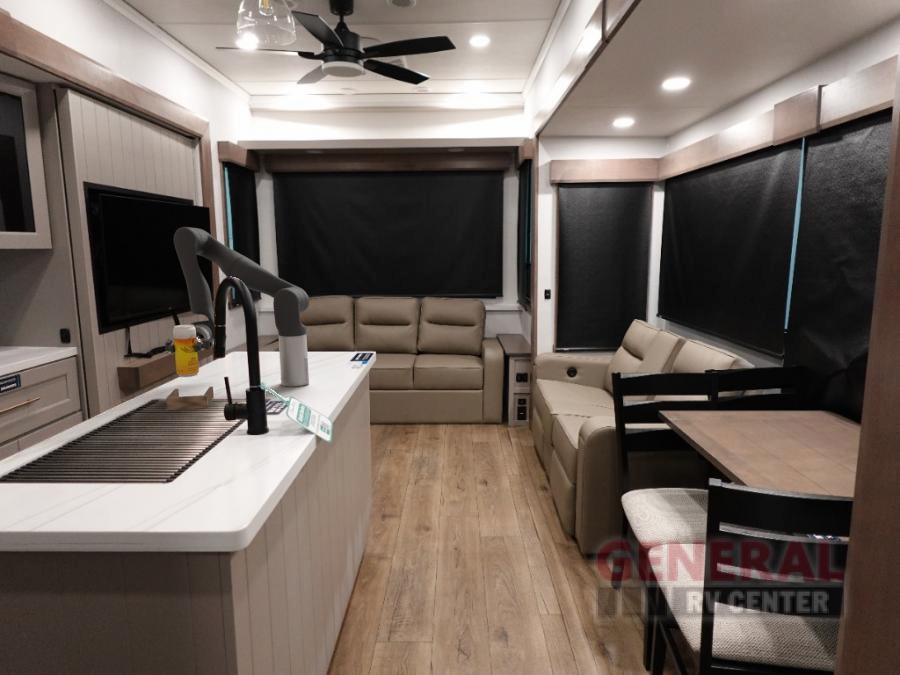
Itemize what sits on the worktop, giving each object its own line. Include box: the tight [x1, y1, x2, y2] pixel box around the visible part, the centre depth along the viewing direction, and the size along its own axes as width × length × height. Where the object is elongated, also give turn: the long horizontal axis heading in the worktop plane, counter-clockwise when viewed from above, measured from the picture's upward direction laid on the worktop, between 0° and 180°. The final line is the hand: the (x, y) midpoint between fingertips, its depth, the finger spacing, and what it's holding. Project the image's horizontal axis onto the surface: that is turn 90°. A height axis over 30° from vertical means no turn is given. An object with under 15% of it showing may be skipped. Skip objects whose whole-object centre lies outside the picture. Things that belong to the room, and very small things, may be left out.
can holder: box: [165, 386, 215, 411], centre depth 166 cm, size 11×11×4 cm
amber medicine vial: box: [172, 324, 200, 378], centre depth 164 cm, size 6×6×15 cm
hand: (184, 349), depth 161 cm, fingers closed on amber medicine vial, 6 cm apart
